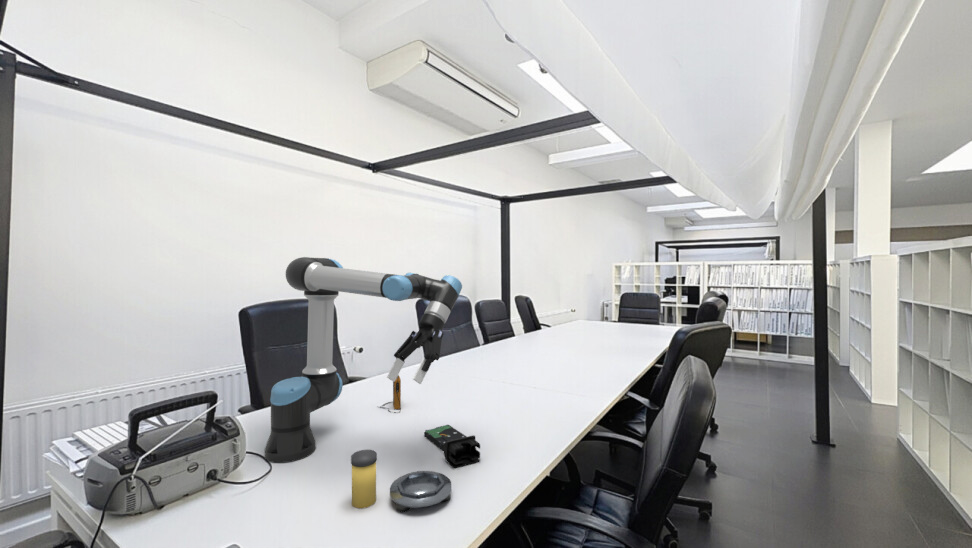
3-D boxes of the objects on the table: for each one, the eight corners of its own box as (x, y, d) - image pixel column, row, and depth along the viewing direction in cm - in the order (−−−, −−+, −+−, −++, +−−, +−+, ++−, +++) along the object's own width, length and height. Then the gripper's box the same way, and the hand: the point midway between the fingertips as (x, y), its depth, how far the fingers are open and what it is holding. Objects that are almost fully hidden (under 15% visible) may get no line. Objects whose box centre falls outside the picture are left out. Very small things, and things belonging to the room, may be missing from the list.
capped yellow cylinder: (352, 511, 98) (352, 462, 98) (349, 497, 103) (350, 452, 103) (378, 505, 100) (378, 458, 100) (374, 492, 106) (375, 448, 106)
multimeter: (376, 404, 179) (376, 360, 179) (398, 401, 182) (398, 358, 182) (377, 415, 165) (377, 367, 165) (401, 412, 168) (401, 365, 168)
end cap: (470, 453, 130) (470, 432, 130) (481, 461, 124) (481, 440, 124) (443, 460, 125) (443, 438, 125) (452, 469, 119) (452, 447, 119)
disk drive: (469, 445, 137) (448, 431, 149) (469, 437, 137) (448, 423, 149) (443, 453, 131) (423, 437, 143) (443, 444, 131) (423, 429, 143)
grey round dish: (396, 522, 93) (396, 506, 93) (385, 488, 108) (385, 474, 108) (459, 506, 100) (459, 491, 100) (441, 476, 114) (441, 463, 114)
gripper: (468, 323, 118) (438, 389, 107) (419, 327, 135) (389, 384, 124) (451, 308, 114) (419, 375, 103) (403, 315, 131) (371, 372, 120)
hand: (403, 380), depth 113 cm, fingers open, 13 cm apart
